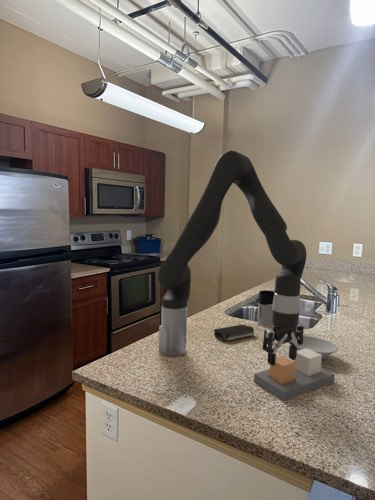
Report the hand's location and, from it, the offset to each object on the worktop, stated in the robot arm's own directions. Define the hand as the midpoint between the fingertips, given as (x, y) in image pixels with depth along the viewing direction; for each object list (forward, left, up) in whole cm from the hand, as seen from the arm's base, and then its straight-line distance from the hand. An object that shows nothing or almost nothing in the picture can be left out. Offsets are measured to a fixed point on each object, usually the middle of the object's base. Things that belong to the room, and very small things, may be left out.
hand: (282, 361), depth 101 cm
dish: (+26, +10, -8) cm, 29 cm away
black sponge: (+13, +39, -8) cm, 42 cm away
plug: (0, 0, -8) cm, 8 cm away
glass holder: (+34, +45, -8) cm, 57 cm away
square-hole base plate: (+6, 0, -8) cm, 10 cm away
